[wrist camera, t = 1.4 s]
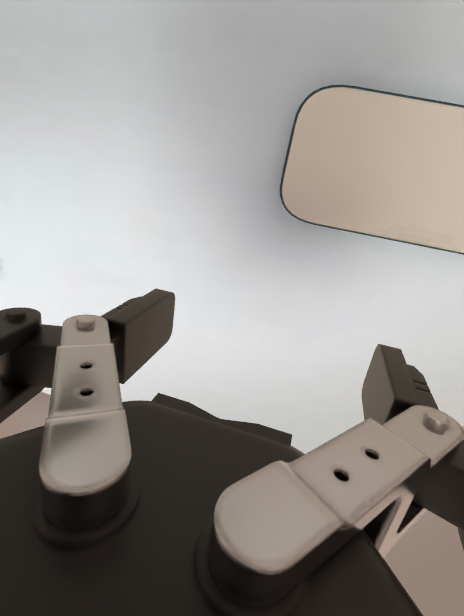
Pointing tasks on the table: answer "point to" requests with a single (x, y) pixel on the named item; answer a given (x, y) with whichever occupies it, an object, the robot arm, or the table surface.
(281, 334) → the table surface
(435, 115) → the external hard drive
